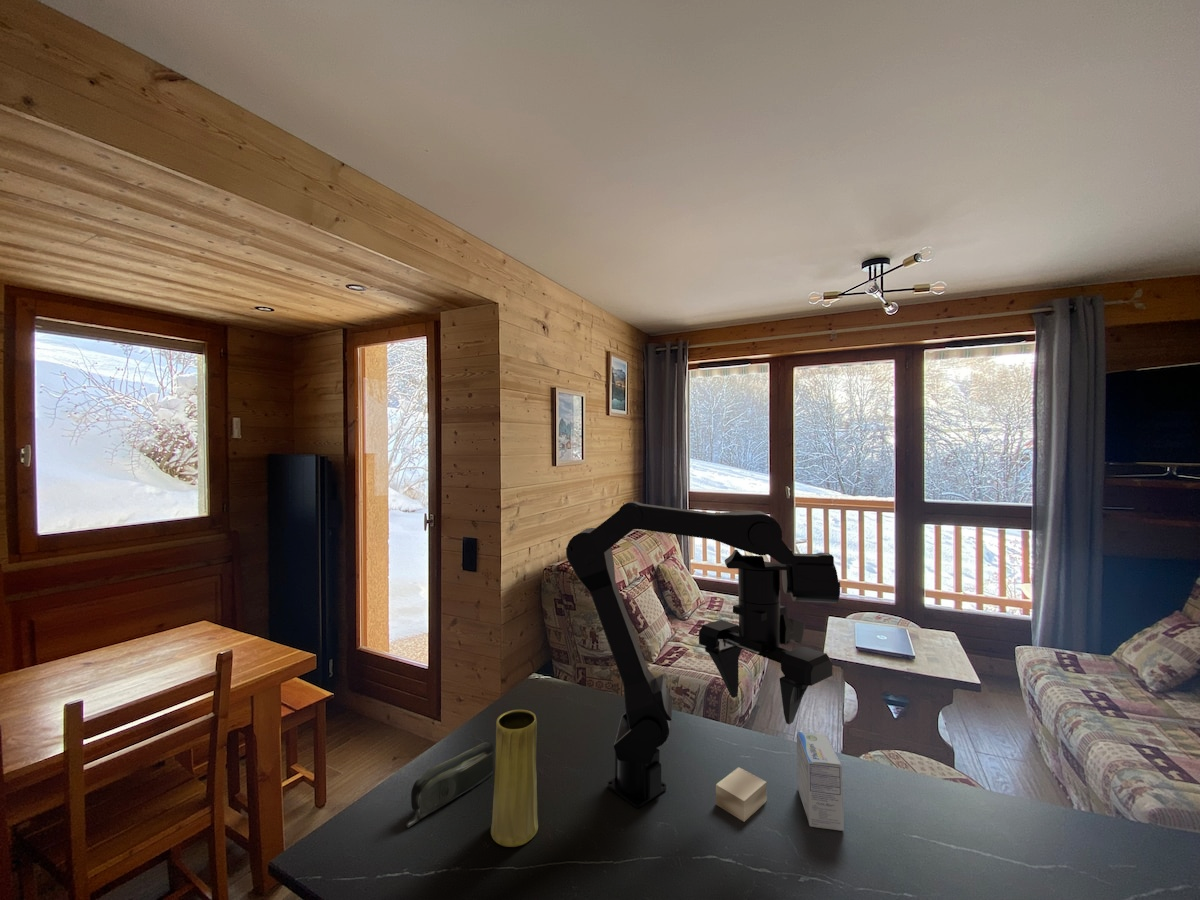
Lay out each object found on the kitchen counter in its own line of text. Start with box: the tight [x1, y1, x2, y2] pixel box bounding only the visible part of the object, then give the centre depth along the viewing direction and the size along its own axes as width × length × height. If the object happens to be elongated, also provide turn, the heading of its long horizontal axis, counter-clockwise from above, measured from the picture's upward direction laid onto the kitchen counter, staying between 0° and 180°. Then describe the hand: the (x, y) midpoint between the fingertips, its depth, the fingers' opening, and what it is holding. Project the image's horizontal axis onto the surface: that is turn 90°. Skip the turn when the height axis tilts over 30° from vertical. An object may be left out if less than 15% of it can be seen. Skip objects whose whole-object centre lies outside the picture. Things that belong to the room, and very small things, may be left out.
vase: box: [490, 709, 539, 848], centre depth 63 cm, size 6×6×14 cm
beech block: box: [715, 767, 767, 823], centre depth 69 cm, size 4×6×3 cm
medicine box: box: [796, 731, 845, 832], centre depth 68 cm, size 8×4×9 cm, turn 168°
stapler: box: [406, 740, 495, 828], centre depth 70 cm, size 5×3×15 cm
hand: (760, 709), depth 69 cm, fingers open, 9 cm apart
